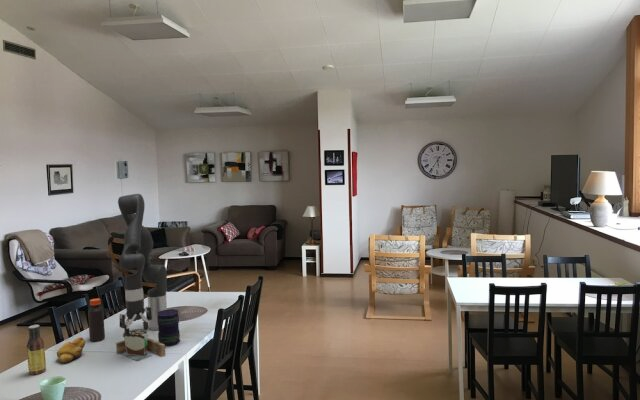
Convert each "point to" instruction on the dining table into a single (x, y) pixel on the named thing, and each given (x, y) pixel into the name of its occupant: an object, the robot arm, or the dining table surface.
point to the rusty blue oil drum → (168, 327)
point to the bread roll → (71, 350)
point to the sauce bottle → (35, 351)
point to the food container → (136, 342)
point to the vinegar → (96, 321)
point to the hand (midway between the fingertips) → (136, 333)
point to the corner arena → (151, 346)
